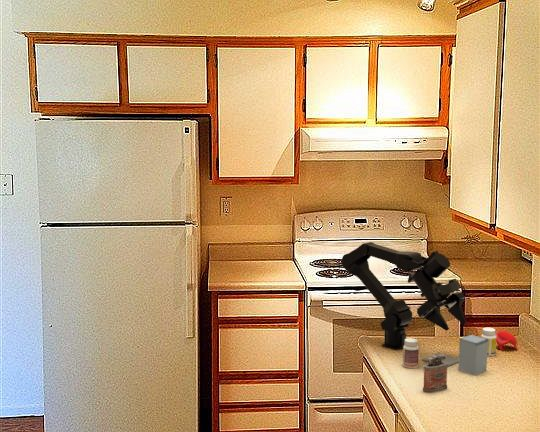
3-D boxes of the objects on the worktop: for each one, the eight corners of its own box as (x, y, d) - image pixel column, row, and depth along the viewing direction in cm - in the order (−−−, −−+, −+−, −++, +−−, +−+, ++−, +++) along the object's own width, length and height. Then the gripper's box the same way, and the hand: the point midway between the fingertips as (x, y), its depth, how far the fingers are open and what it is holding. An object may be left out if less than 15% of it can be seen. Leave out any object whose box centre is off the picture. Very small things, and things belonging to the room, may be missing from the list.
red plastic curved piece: (493, 342, 232) (510, 334, 230) (491, 331, 237) (507, 323, 235) (505, 358, 235) (522, 351, 233) (502, 347, 240) (518, 340, 238)
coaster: (421, 360, 224) (421, 358, 224) (438, 353, 230) (438, 352, 230) (445, 368, 218) (445, 366, 218) (462, 361, 224) (462, 359, 224)
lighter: (427, 393, 198) (429, 360, 197) (420, 389, 201) (421, 356, 199) (449, 388, 202) (451, 355, 200) (441, 384, 205) (443, 351, 203)
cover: (458, 369, 216) (459, 338, 215) (469, 365, 220) (470, 334, 219) (475, 375, 212) (476, 343, 210) (486, 370, 216) (487, 339, 214)
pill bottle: (421, 367, 218) (422, 341, 217) (407, 369, 217) (408, 343, 216) (413, 362, 223) (413, 336, 222) (399, 364, 221) (400, 338, 220)
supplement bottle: (494, 351, 232) (495, 327, 231) (497, 356, 228) (498, 331, 226) (479, 351, 233) (480, 326, 232) (482, 356, 228) (483, 331, 227)
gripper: (425, 276, 214) (455, 319, 208) (460, 267, 226) (489, 307, 220) (404, 296, 221) (432, 338, 215) (439, 286, 233) (467, 325, 227)
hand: (456, 326), depth 219 cm, fingers open, 9 cm apart
